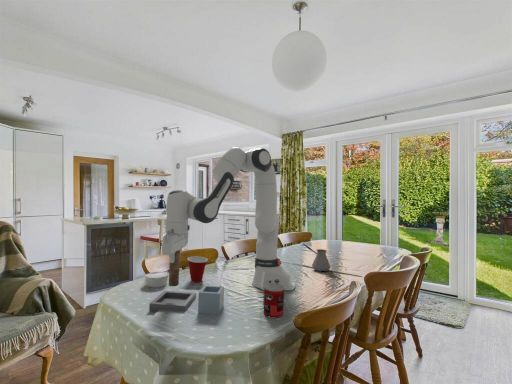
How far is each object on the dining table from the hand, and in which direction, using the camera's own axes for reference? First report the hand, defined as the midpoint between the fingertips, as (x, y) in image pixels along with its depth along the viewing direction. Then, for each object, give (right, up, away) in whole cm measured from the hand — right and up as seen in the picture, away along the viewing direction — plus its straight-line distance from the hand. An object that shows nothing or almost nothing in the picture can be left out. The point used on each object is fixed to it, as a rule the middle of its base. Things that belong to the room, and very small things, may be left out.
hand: (174, 260), depth 119 cm
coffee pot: (+72, -21, +64) cm, 99 cm away
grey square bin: (+16, -19, -6) cm, 26 cm away
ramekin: (-16, -18, +24) cm, 35 cm away
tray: (0, -19, 0) cm, 19 cm away
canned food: (+41, -20, -6) cm, 46 cm away
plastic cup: (+2, -19, +33) cm, 38 cm away
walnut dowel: (-1, -10, 0) cm, 10 cm away
